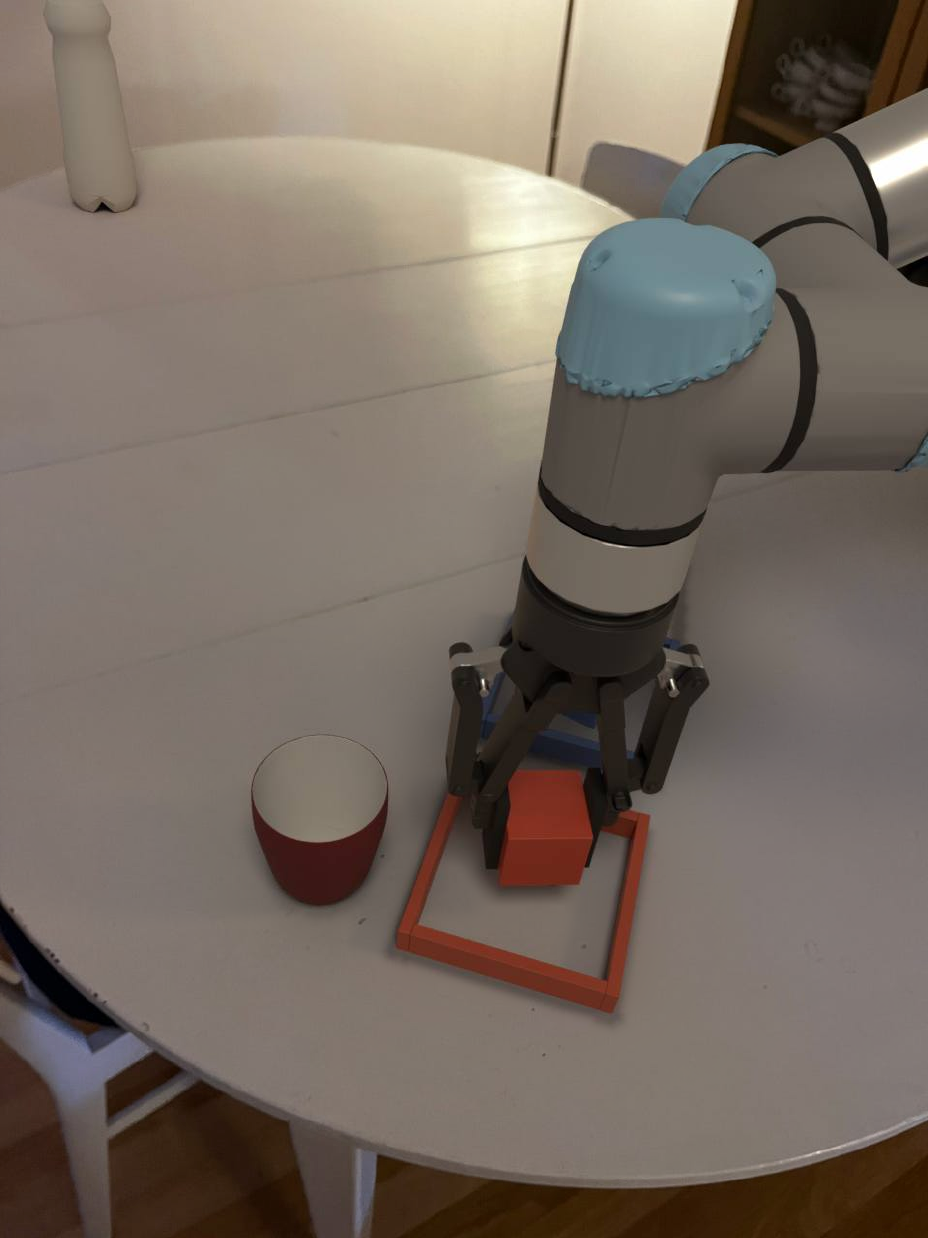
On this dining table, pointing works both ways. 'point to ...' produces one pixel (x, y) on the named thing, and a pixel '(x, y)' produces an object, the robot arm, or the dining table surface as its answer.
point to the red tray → (514, 965)
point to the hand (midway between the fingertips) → (534, 849)
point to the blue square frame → (552, 740)
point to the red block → (545, 829)
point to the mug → (320, 815)
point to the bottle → (90, 106)
